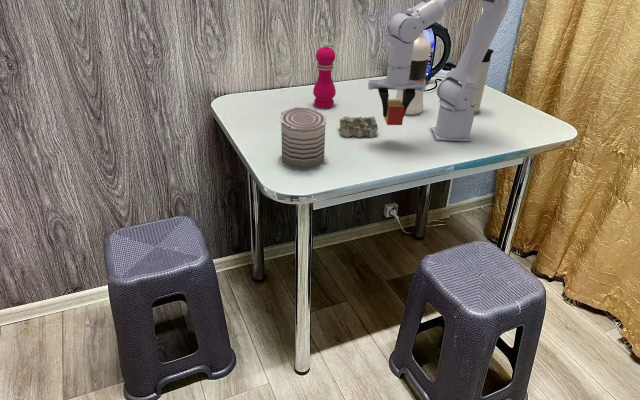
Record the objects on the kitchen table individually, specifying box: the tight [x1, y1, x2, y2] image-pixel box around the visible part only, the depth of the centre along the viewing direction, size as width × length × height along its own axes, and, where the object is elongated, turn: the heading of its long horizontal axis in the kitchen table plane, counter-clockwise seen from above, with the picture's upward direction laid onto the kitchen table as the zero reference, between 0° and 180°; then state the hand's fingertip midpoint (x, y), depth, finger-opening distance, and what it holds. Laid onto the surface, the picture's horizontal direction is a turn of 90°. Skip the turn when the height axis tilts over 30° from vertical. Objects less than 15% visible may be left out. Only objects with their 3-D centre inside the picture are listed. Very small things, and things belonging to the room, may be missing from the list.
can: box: [279, 106, 327, 171], centre depth 118 cm, size 11×11×12 cm
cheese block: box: [383, 98, 405, 126], centre depth 125 cm, size 4×6×5 cm
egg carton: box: [339, 115, 379, 138], centre depth 135 cm, size 11×8×4 cm
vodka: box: [395, 30, 432, 116], centre depth 143 cm, size 9×9×30 cm
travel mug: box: [471, 48, 495, 115], centre depth 147 cm, size 6×7×20 cm
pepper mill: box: [312, 41, 337, 109], centre depth 148 cm, size 7×7×20 cm
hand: (393, 115), depth 126 cm, fingers closed on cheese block, 4 cm apart
